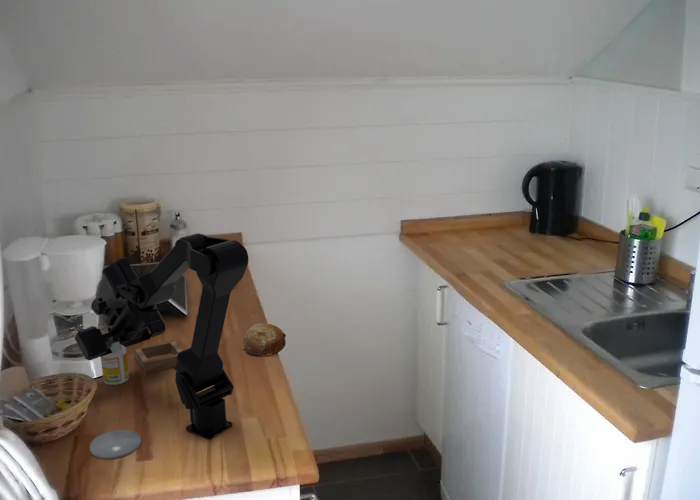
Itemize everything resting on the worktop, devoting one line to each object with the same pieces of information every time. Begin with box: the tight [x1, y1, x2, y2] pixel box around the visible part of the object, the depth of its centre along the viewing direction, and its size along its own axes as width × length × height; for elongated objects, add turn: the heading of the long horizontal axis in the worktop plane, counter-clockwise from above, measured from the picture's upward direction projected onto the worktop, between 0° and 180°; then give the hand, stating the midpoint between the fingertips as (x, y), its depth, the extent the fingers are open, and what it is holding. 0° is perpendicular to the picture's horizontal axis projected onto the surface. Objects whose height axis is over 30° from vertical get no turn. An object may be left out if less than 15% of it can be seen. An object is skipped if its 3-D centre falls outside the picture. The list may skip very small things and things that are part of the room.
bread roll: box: [242, 323, 287, 357], centre depth 174 cm, size 10×10×8 cm
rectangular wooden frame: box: [133, 339, 184, 374], centre depth 167 cm, size 9×9×2 cm
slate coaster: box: [89, 429, 142, 460], centre depth 133 cm, size 9×9×1 cm
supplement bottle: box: [100, 338, 130, 386], centre depth 158 cm, size 5×5×10 cm
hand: (109, 350), depth 158 cm, fingers closed on supplement bottle, 5 cm apart
